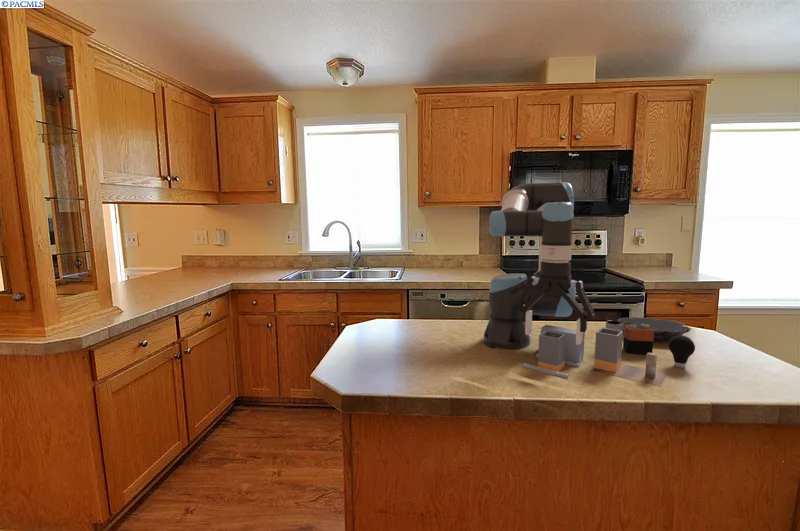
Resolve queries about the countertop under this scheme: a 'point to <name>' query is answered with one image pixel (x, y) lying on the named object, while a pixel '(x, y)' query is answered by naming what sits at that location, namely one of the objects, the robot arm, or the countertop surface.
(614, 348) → the seated sleeve
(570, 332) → the feeder
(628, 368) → the pinboard
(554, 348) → the sleeve
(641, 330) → the battery
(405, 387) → the countertop surface
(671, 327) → the board
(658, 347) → the countertop surface
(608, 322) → the planter
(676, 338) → the light bulb
